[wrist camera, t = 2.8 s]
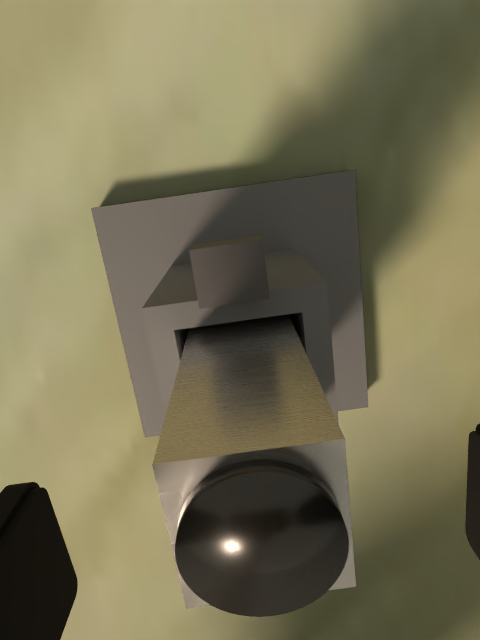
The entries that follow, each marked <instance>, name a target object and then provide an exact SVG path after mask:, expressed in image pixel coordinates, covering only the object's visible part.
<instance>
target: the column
mask: <svg viewBox="0 0 480 640" xmlns="http://www.w3.org/2000/svg"><path fill="white" fill-rule="evenodd" d="M152 465H153V469H154V474H155V478H156V482H157V486H158V491H159V495H160V499H161V504H162V508H163V512H164V516H165V521H166V525H167V529H168V533H169V538H170V542H171V546H172V550H173V555H174V559H175V563H176V567H177V572H178V576H179V580H180V584H181V589H182V593H183V597H184V601H185V606H186V608H194V607H202V606H210V605H212V606H214V607H216V608H218V609H220V610H223V611H226V612H229V613H233V614H237V615H243V616H256V617H263V616H274V615H279V614H284V613H288V612H291V611H294V610H297V609H299V608H302V607H304V606H306V605H308V604H310V603H312V602H313V601H315V600H316V599H318V598H319V597H321V596H322V595H323V594H324V593H325V592H327V591H328V590H335V589H343V588H350V587H356V580H355V567H354V554H353V540H352V527H351V514H350V500H349V487H348V474H347V460H346V447H345V438H344V436H343V434H342V431H341V429H340V427H339V425H338V423H337V420H336V418H335V416H334V414H333V412H332V409H331V407H330V405H329V403H328V400H327V398H326V396H325V394H324V392H323V389H322V387H321V385H320V383H319V381H318V378H317V376H316V374H315V372H314V370H313V367H312V365H311V363H310V361H309V359H308V356H307V354H306V352H305V350H304V348H303V345H302V343H301V341H300V339H299V337H298V334H297V332H296V330H295V328H294V326H293V323H292V321H291V319H290V317H289V315H288V314H286V315H279V316H272V317H265V318H258V319H251V320H243V321H236V322H229V323H222V324H215V325H208V326H200V327H193V328H189V331H188V335H187V338H186V342H185V346H184V350H183V353H182V357H181V361H180V364H179V368H178V372H177V375H176V379H175V383H174V387H173V390H172V394H171V398H170V401H169V405H168V409H167V412H166V416H165V420H164V423H163V427H162V431H161V435H160V438H159V442H158V446H157V449H156V453H155V457H154V460H153V464H152Z"/></svg>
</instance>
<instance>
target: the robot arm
mask: <svg viewBox="0 0 480 640" xmlns="http://www.w3.org/2000/svg"><path fill="white" fill-rule="evenodd" d="M466 535H467V538H468V541H469V543H470V546H471V547H472V549H473V551H474V552H475V554H476V555H477V557H478V558H479V560H480V424H478V425H477V427H476V431H472V432H470V434H469V445H468V472H467V500H466ZM76 594H77V577H76V574H75V571H74V568H73V565H72V562H71V559H70V556H69V553H68V550H67V547H66V545H65V542H64V539H63V536H62V533H61V530H60V527H59V524H58V521H57V518H56V515H55V512H54V510H53V507H52V504H51V501H50V498H49V495H48V492H47V490H46V489H45V488H40V487H39V485H38V484H37V483H36V482H29V483H21V484H14V485H8V486H6V487H5V488H4V489H3V490H2V492H1V493H0V640H60V639H61V636H62V633H63V630H64V628H65V625H66V622H67V619H68V617H69V614H70V611H71V608H72V606H73V603H74V600H75V597H76Z"/></svg>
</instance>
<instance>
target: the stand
mask: <svg viewBox="0 0 480 640" xmlns="http://www.w3.org/2000/svg"><path fill="white" fill-rule="evenodd" d="M91 210H92V214H93V219H94V223H95V227H96V231H97V236H98V240H99V244H100V248H101V253H102V257H103V261H104V265H105V270H106V274H107V278H108V282H109V287H110V291H111V295H112V299H113V304H114V308H115V312H116V316H117V321H118V325H119V329H120V333H121V337H122V342H123V346H124V350H125V354H126V359H127V363H128V367H129V371H130V376H131V380H132V384H133V388H134V393H135V397H136V401H137V405H138V410H139V414H140V418H141V422H142V427H143V431H144V435H145V437H151V436H159V435H161V431H162V427H163V423H164V420H165V416H166V412H167V409H168V405H169V401H170V398H171V394H172V390H173V387H174V383H175V379H176V375H177V372H178V368H179V364H180V361H181V357H182V353H183V350H184V346H185V342H186V338H187V335H188V331H189V328H193V327H200V326H208V325H215V324H222V323H229V322H236V321H243V320H251V319H258V318H265V317H272V316H279V315H286V314H288V315H289V317H290V319H291V321H292V323H293V326H294V328H295V330H296V332H297V334H298V337H299V339H300V341H301V343H302V345H303V348H304V350H305V352H306V354H307V356H308V359H309V361H310V363H311V365H312V367H313V370H314V372H315V374H316V376H317V378H318V381H319V383H320V385H321V387H322V389H323V392H324V394H325V396H326V398H327V400H328V403H329V405H330V407H331V409H332V412H333V414H334V416H335V418H336V420H337V423H338V411H343V410H350V409H358V408H365V407H368V393H367V375H366V356H365V338H364V320H363V301H362V283H361V265H360V247H359V228H358V210H357V192H356V173H355V170H350V171H343V172H336V173H329V174H322V175H315V176H308V177H301V178H294V179H287V180H281V181H274V182H267V183H260V184H253V185H246V186H239V187H232V188H226V189H219V190H212V191H205V192H198V193H191V194H184V195H177V196H170V197H164V198H157V199H150V200H143V201H136V202H129V203H122V204H115V205H108V206H102V207H96V208H91ZM338 425H339V424H338Z"/></svg>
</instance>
